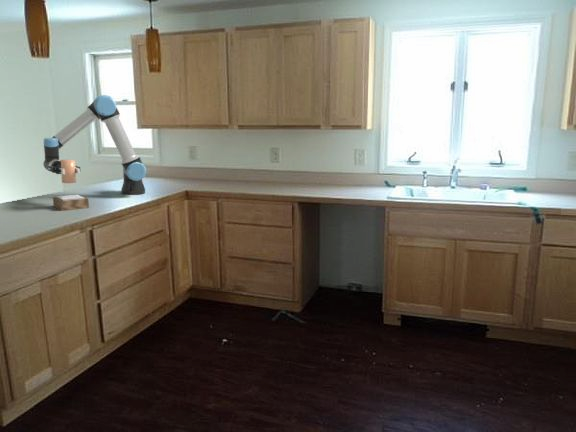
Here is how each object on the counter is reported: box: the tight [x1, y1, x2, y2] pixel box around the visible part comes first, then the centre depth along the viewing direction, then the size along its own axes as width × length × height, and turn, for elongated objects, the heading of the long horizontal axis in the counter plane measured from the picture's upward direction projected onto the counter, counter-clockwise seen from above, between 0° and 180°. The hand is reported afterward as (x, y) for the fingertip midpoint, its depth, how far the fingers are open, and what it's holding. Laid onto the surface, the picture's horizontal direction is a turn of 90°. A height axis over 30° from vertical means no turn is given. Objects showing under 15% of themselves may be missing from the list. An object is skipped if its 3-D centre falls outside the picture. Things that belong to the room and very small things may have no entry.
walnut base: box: [52, 194, 90, 212], centre depth 252 cm, size 14×14×6 cm
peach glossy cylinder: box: [60, 159, 77, 184], centre depth 249 cm, size 7×7×12 cm
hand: (71, 171), depth 245 cm, fingers closed on peach glossy cylinder, 7 cm apart
